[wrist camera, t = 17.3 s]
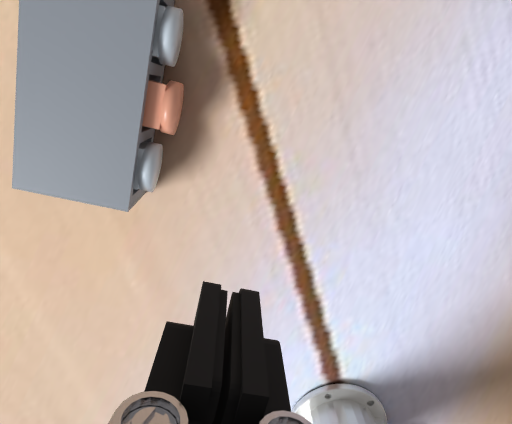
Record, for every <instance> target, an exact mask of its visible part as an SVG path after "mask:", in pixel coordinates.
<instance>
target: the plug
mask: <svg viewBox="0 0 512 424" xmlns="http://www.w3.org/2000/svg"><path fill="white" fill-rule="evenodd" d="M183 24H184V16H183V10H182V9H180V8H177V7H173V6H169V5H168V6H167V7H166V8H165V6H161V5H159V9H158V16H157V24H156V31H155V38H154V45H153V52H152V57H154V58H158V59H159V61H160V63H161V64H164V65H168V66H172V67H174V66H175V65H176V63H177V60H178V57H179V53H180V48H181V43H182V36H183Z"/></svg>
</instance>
